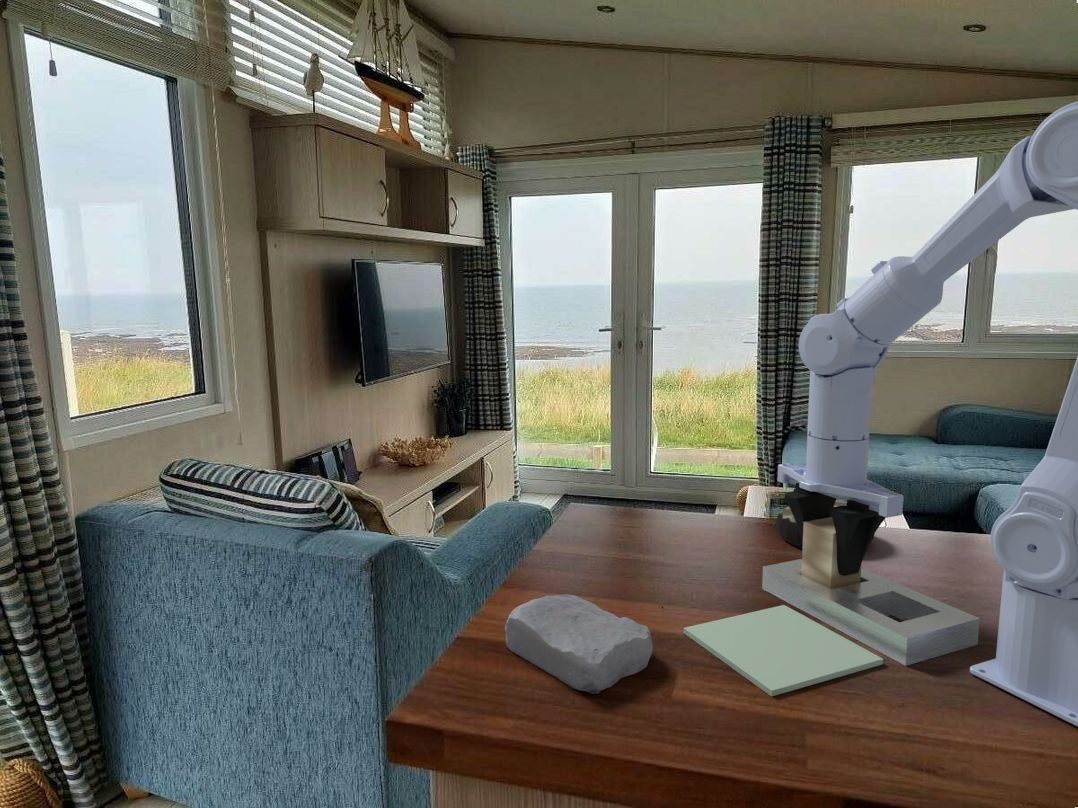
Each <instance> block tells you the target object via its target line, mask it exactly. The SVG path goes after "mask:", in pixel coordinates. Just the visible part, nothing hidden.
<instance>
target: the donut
mask: <svg viewBox="0 0 1078 808" xmlns="http://www.w3.org/2000/svg"><path fill="white" fill-rule="evenodd" d="M837 506H843V504H837V503H835V504H834V507H837ZM831 517H832V516H831ZM775 526H776V527H775V528H776V531H777V533H778V534H779V535H780V537H781V538H782V539H783V540H784V541H786V542H788V543H789V544H791V545H793V546H796V547H797V548H800V549H803V546H802V542H801V537H800V533H799V530H798V526H797V523H796V521H795V518H794V516H793V513H792V511H791V509H790V507H789V506H788V505H787V506H786V507H784V508H783V509H782V510H780V512H779V513H778V514H777V517H776V522H775ZM875 534H876V533H875ZM875 534H874V535H873V537H872V539H871V541H870V543H869V545H870V544H871V542H872V541H873V539H874V538H875Z"/></svg>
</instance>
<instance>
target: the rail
mask: <svg viewBox="0 0 1078 808" xmlns="http://www.w3.org/2000/svg"><path fill="white" fill-rule="evenodd" d="M801 572H802V558H798V559H795V560H789V561H784V562H779V563H774V564H769V565H763V566H762V579H761V580H762V581H761V582H762V583H761V589H762V590H763V591H766V592H767V593H770V594H771V595H773V596H774V597H777V598H778V599H780V600H782V601H784V602H785V603H788V604H789V605H791V606H793V607H795V608H797V609H798V610H800V611H802V612H805V613H806V614H808V615H810V616H812V617H814V618H816V619H817V620H820V621H821V622H823V623H825V624H827V625H828V626H830V627H832V628H834V629H835V630H838V631H839V632H841V633H844V634H845V635H847V636H848V637H851V638H853V639H854V640H856V641H858V642H859V643H860V642H861V643H862V644H864V645H866V646H868V647H870V648H871V649H873V650H874V651H876V652H879V653H880V654H883V655H885V656H886V657H888V658H890V659H892V660H894V661H895V662H897V663H899V664H901V665H902V666H905V667H907V666H910V665H914V664H916V663H920V662H924V661H927V660H929V659H930V660H931V659H933V658H938V657H942V656H944V655H947V654H950V653H954V652H958V651H961V650H965V649H968V648H970V647H974V646H978V643H979V633H980V622H981V621H980V619H981V618H980V617H978V616H975V615H974V614H970V613H968V612H966V611H964V610H961V609H959V608H957V607H954V606H951V605H949V604H947V603H944V602H942V601H940V600H937V599H935V598H933V597H930V596H928V595H925V594H924V593H921V592H919V591H916V590H915V589H911V588H909V587H907V586H904V585H903V584H900V583H897V582H895V581H893V580H890V579H888V578H885V577H884V576H881V575H879V574H876V573H873V572H871V571H869V570H868V569H867V570H866V569H864V568H863V567H861V581H860V583H857V584H853V585H848V586H844V587H840V588H835V589H829V588H826V587H824V586H822V585H820V584H818V583H816V582H814V581H812V580H810V579H808V578H806V577H804V576H801ZM890 616H893V617H895V618H897V619H899V620H901V621H900V622H899V621H897V620H895V619H893V618H891V617H890Z"/></svg>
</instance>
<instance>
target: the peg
mask: <svg viewBox="0 0 1078 808" xmlns="http://www.w3.org/2000/svg"><path fill="white" fill-rule="evenodd" d="M801 549H802V550H801V551H802V552H801V557H802V558H801V559H802V572H801V576H804V577H806V578H808V579H810V580H812V581H814V582H816V583H818V584H820V585H822V586H824V587H826V588H829V589H835V588H840V587H844V586H848V585H853V584H857V583H860V581H861V568H862V564H863V562H862V563H861V566H860V569H859V572H858V573H856V574H852V575H847V576H843V575H840V574H839V572H838V566H837V538H836V531H835V527H834V523H833V519H832V517H829V518H823V519H817V520H812V521H806V522H804V526H803V548H801Z"/></svg>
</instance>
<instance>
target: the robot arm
mask: <svg viewBox="0 0 1078 808" xmlns="http://www.w3.org/2000/svg"><path fill="white" fill-rule="evenodd" d="M1071 210H1077V211H1078V101H1075V102H1072V103H1068V104H1066V105H1064V106H1061V107H1060V108H1059V109H1057V110H1055V111H1053V112H1052V113H1051V114H1050V115H1049V116H1047V117H1046V118H1045V119H1044V120H1043V121H1042V122H1041V123H1040V124H1039V125H1038V127H1037V128H1036V129H1035V131H1034V132H1033V134H1032V135H1027V136H1026V137H1025V138H1023V139H1022V140H1020V141H1019V142H1017V143H1016V144H1015V145H1014V146H1012V147H1011V149H1010V150H1009V152H1008V154H1007V155H1006V157H1005V158H1004V160H1003V161H1002V163H1001V165H1000V166H999V168H998V169H997V170H996V172H995V173H993V175H992V176H991V177H990V178H989V179H988V180H987V181H986V182H985V183H984V184H983V185H982V186H981V187H980V188H979V189H978V190H977V191H976V192H975V194H973V195H972V196H971V197H970V198H969V199H968V200H967V201H966V203H964V204H963V205H962V206H961V208H959V209H958V210H957V211H956V212H955V214H953V215H952V216H951V218H949V220H948V221H947V222H946V223H945V224H943V225H942V227H941V228H940V229H939V230H938V231H937V232H936V233H935V234H934V235H933V236H932V237H931V238H930V239H929V240H927V241H926V243H925V244H924V245H923V246H922V247H921V248H920V249H919V250H918V251H917V252H915V254H914V255H913V256H906V255H905V256H903V255H902V256H901V255H899V256H894V257H891V258H890V259H889V260H888V261H887V260H881V261H878V262H877V263H876V264H875V265H874V266H873V267H872V268H871V270H870V271H871V273H872V274H873V275H872V276H871V277H870V278H868V280H866V281H865V283H863V284H862V285H861V286H860V287H859V288H858V289H856V290H855V292H854V293H853V294H851V296H850V297H847V298H844V297H843V298H842V299H841V300H840V301H839V302H838V303H837V304H836V308H837V309H835V311H833V312H832V313H820V314H816V315H813V316H812V317H811V318H810V319H809V320H808V322H807V324H806V325H805V326H804V327H803V329H802V331H801V333H800V335H799V339H798V353H799V357H800V360H801V361H802V363H803V364H804V366H805V367H806V368H807V369H808V370H809V391H808V409H807V410H808V414H807V416H808V417H807V437H806V440H807V441H806V442H807V443H806V459H805V460H806V461H805V465H803V464H798V463H795V462H788V463H787V462H786V463H779V464H778V465H777V482H779V483H782V484H788V483H789V484H791V485H794V486H795V487H794V489H793V491H788V492H787V491H786V492H785V493H784V501H785V502H786V504H787V506H789V507H790V509H791V511H792V513H793V516H794V518H795V521H796V523H797V526H798V530H799V533H800V537H801V542H802V546H803V526H804V522H806V521H812V520H817V519H823V518H829V517H831V516H832V519H833V523H834V527H835V531H836V538H837V566H838V572H839V574H840V575H843V576H847V575H852V574H856V573H858V572H859V569H860V566H861V567H862V564H863V560H864V557H865V555H866V552H867V549H868V547H869V545H870V544H871V542H872V541H871V539H872V537H873V535H874V534H876V532H877V530H878V529H879V528H880V526H881V524H882V523H883V522H884V521H885V520H886V518H892V517H897V516H898V517H899V516H903V510H904V509H903V508H904V495H903V494H901V493H898V492H895V491H892V490H890V489H889V488H886V487H883V486H882V485H880V484H878V483H876V482H875V481H872V480H869V479H868V478H867V477H868V466H869V465H868V464H869V463H868V461H869V447H870V446H869V445H870V428H871V427H870V425H871V410H872V409H871V406H872V396H873V394H872V393H873V392H872V389H873V384H875V383H876V382H875V381H876V380H875V379H876V372H877V369H878V368H879V367H880V366H881V364H882V363H883V362H884V360H885V359H886V357H887V354H888V349H889V346H890V345H892V343H893V342H894V341H895V340H897V339H898V338H900V337H901V336H902V335H903V334H904V333H906V332H907V331H908V330H909V329H910V328H912V327H913V326H915V324H917V322H919V321H920V320H921V319H923V318H924V317H925V316H926V315H928V314H929V313H930V312H931V311H932V310H933V309H935V308H936V307H937V306H939V305H940V304H941V302H942V299H943V294H944V283H945V282H946V281H947V280H948V279H950V278H951V277H952V276H954V275H955V274H956V273H958V272H959V271H960V270H962V269H963V268H964V267H965V266H967V265H969V264H970V263H971V262H972V261H973V260H975V259H976V258H977V257H978V256H980V255H981V254H982V253H984V252H985V251H986V250H988V249H989V248H990V247H992V246H993V245H994V244H996V243H997V242H998V241H999V240H1001V239H1002V238H1003V237H1005V236H1007V234H1009V233H1010V232H1012V231H1013V230H1014V229H1015V228H1017V227H1018V226H1019V225H1021V224H1022V223H1023V222H1025V221H1026V220H1028V219H1030V218H1034V217H1039V216H1046V215H1050V214H1056V213H1060V212H1061V213H1062V212H1065V211H1071ZM1067 384H1068V385H1067V387H1066V391H1065V394H1064V396H1063V400H1062V403H1061V404H1060V405H1061V406H1060V409H1059V412H1058V415H1057V417H1056V420H1055V424H1054V427H1053V429H1052V431H1051V432H1052V433H1051V436H1050V438H1049V441H1048V445H1047V448H1046V450H1045V453H1044V456H1043V458H1042V459H1041V461H1040V462H1039V463H1038V464H1036V467H1035V468H1033V470H1031V472H1030V473H1029V474H1028V476H1027V477H1026V478H1025V479H1024V481H1023V482H1022V483H1021V484H1020V486H1019V489H1018V492H1017V496H1016V498H1015V501H1014V502H1013V503H1012V505H1011V506H1009V508H1008V509H1007V510H1004V512H1002V514H1000V515H999V516H998V517H997V518H996V520H995V522H994V523H993V525H992V527H991V532H990V546H991V551H992V553H993V556H994V558H995V560H996V562H997V563H998V565H999V566H1000V567H1001V569H1002V570H1003V572H1002V573H1003V575H1002V585H1001V586H1002V587H1001V596H1000V597H1001V598H1000V608H999V620H998V629H997V642H996V654H995V658H993V659H990V660H986V661H983V662H980V663H977V664H973V665H971V666H970V667H969V672H970V674H972V675H974V676H975V677H978V678H980V679H982V680H984V681H986V682H988V683H990V684H992V685H994V686H996V687H997V688H1000V689H1002V690H1003V691H1005V692H1008V693H1010V694H1012V695H1014V696H1015V697H1017V698H1019V699H1022V700H1024V701H1026V702H1028V703H1030V704H1032V705H1033V706H1035V707H1038V708H1040V709H1042V710H1044V711H1045V712H1048V713H1050V714H1052V715H1053V716H1056V717H1057V718H1060V719H1062V720H1064V721H1065V722H1067V723H1070V724H1071V725H1073V726H1076V727H1078V356H1077V358H1076V360H1075V363H1074V366H1073V369H1072V372H1071V375H1070V378H1069V382H1068V383H1067ZM837 500H839V501H840V500H841V501H844V502H846V505H843V504H842V505H843V506H837V507H834V504H836V502H837ZM874 536H875V535H874ZM870 541H871V542H870ZM869 543H870V544H869ZM861 563H862V564H861Z"/></svg>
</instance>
